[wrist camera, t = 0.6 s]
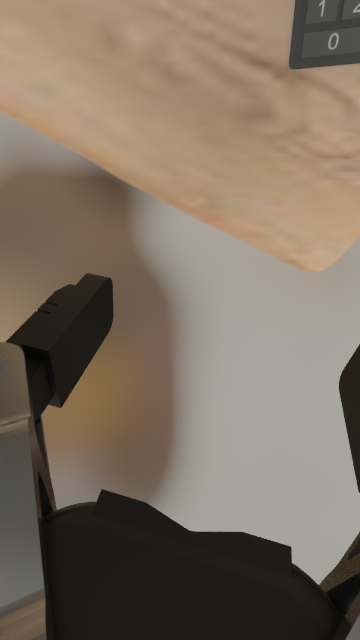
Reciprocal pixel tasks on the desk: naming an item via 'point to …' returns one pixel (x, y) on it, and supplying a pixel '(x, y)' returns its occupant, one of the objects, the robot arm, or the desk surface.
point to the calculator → (325, 33)
